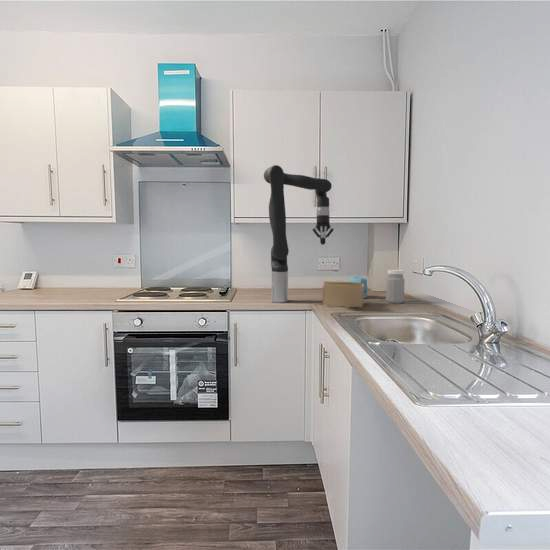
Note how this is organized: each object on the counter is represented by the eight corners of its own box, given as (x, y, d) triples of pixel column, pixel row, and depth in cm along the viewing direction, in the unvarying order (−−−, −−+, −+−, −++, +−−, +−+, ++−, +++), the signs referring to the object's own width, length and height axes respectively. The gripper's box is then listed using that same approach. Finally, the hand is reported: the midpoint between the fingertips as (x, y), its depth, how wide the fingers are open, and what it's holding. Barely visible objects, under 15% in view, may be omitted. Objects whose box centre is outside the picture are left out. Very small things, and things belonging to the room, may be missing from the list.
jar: (384, 303, 218) (385, 270, 216) (387, 300, 227) (388, 269, 225) (402, 304, 214) (403, 271, 212) (405, 301, 223) (405, 269, 221)
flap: (325, 285, 208) (323, 281, 198) (325, 284, 208) (323, 280, 199) (361, 286, 204) (361, 282, 194) (361, 285, 204) (361, 281, 194)
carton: (322, 305, 210) (322, 285, 209) (325, 301, 224) (325, 282, 223) (363, 307, 205) (363, 286, 204) (363, 302, 220) (364, 283, 218)
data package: (366, 298, 234) (367, 278, 233) (360, 299, 232) (360, 278, 231) (355, 295, 245) (355, 276, 244) (349, 296, 244) (349, 276, 242)
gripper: (312, 214, 227) (312, 244, 229) (335, 214, 228) (335, 244, 229) (310, 215, 235) (310, 244, 236) (333, 215, 235) (332, 244, 237)
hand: (322, 244), depth 233 cm, fingers closed
